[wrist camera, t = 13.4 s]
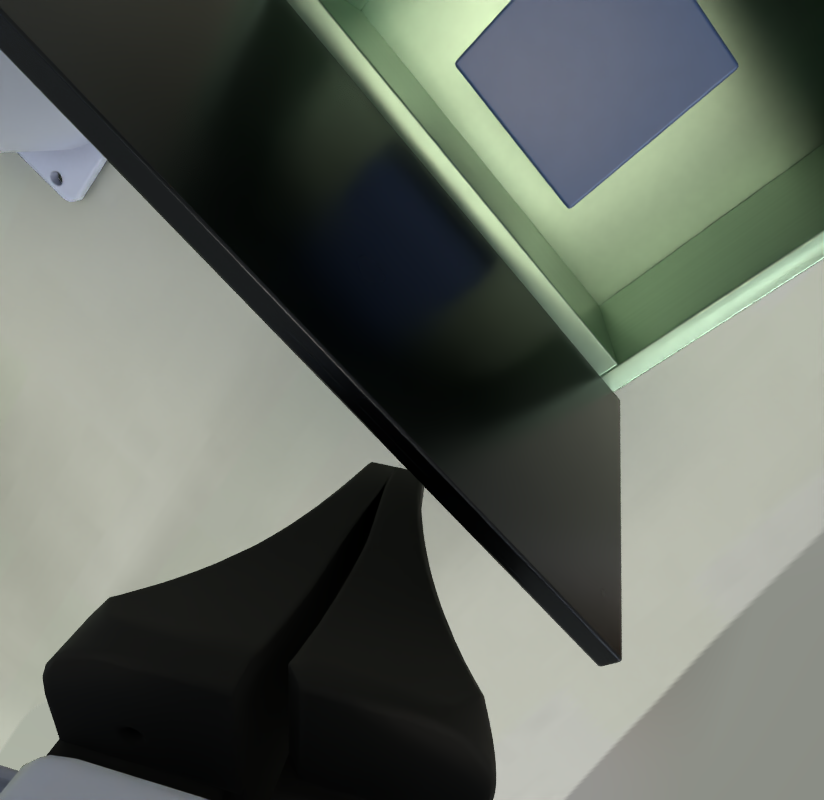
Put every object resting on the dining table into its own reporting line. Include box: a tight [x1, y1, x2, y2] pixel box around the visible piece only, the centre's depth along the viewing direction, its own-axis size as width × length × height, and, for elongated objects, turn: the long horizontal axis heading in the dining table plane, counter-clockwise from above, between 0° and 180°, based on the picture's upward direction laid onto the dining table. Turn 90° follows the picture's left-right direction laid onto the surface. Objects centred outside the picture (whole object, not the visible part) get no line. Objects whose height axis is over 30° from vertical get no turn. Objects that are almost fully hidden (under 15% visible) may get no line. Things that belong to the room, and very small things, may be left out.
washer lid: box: [0, 0, 622, 666], centre depth 10 cm, size 7×13×1 cm
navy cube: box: [455, 0, 739, 209], centre depth 15 cm, size 5×5×4 cm
